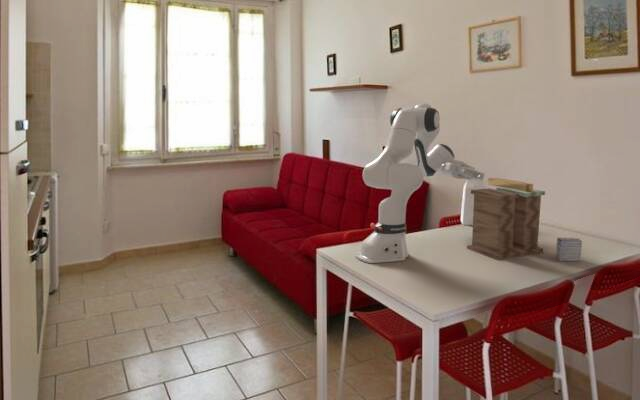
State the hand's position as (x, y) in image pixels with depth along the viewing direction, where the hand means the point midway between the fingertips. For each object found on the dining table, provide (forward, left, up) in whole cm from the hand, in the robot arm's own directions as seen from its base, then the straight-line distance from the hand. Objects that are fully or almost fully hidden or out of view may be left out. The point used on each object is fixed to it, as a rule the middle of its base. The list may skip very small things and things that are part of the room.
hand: (473, 173), depth 224 cm
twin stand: (-4, -26, -30) cm, 40 cm away
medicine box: (+9, -47, -30) cm, 57 cm away
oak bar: (+3, -20, -4) cm, 21 cm away
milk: (+19, +21, -30) cm, 41 cm away
